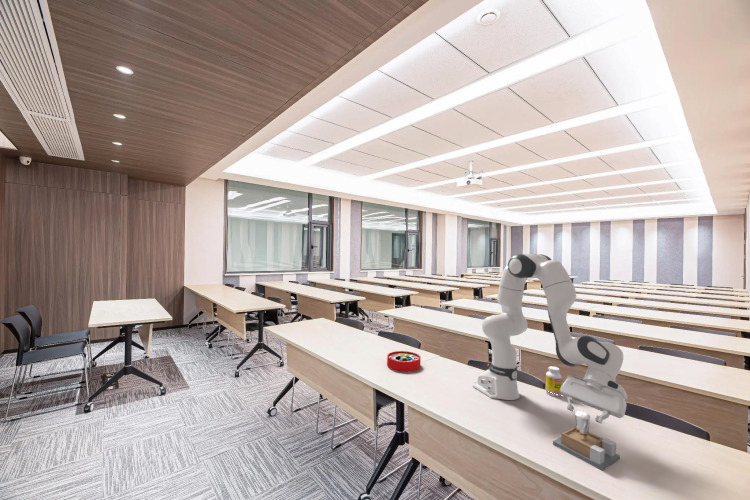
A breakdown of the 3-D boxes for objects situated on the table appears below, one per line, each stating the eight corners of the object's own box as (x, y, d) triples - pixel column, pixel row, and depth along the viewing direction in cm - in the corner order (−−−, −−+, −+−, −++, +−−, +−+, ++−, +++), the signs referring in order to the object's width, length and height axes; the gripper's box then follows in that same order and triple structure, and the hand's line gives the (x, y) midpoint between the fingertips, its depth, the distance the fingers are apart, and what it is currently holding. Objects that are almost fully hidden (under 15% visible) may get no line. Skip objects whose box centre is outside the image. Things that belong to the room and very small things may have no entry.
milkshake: (573, 431, 118) (573, 404, 118) (590, 437, 114) (591, 409, 114) (571, 437, 114) (571, 409, 114) (589, 443, 111) (589, 414, 111)
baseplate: (553, 444, 117) (553, 430, 117) (570, 435, 123) (571, 421, 123) (602, 470, 103) (602, 454, 103) (619, 458, 109) (620, 443, 109)
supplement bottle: (554, 397, 155) (555, 371, 155) (542, 392, 161) (543, 366, 161) (564, 395, 157) (564, 369, 157) (552, 390, 164) (552, 364, 164)
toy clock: (395, 349, 208) (425, 354, 198) (395, 358, 208) (425, 364, 198) (381, 357, 191) (412, 364, 181) (381, 367, 191) (412, 374, 181)
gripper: (565, 368, 127) (551, 398, 122) (627, 388, 110) (613, 424, 105) (571, 377, 129) (557, 407, 124) (633, 398, 112) (619, 434, 107)
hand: (583, 415), depth 114 cm, fingers open, 8 cm apart
